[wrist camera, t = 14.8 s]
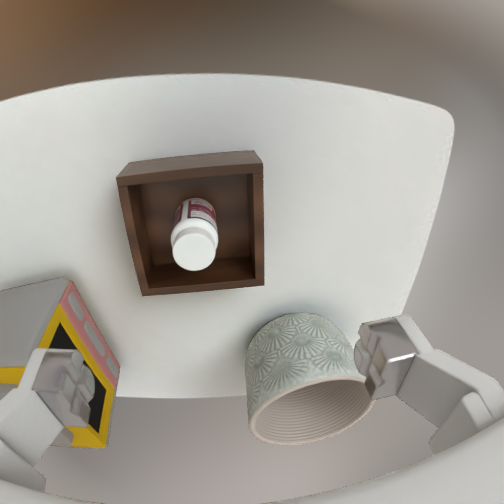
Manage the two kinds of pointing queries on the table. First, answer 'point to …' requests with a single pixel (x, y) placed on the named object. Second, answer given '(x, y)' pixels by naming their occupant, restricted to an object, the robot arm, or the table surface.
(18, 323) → the alarm clock
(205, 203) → the pill bottle
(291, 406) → the planter
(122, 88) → the table surface
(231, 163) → the holder
